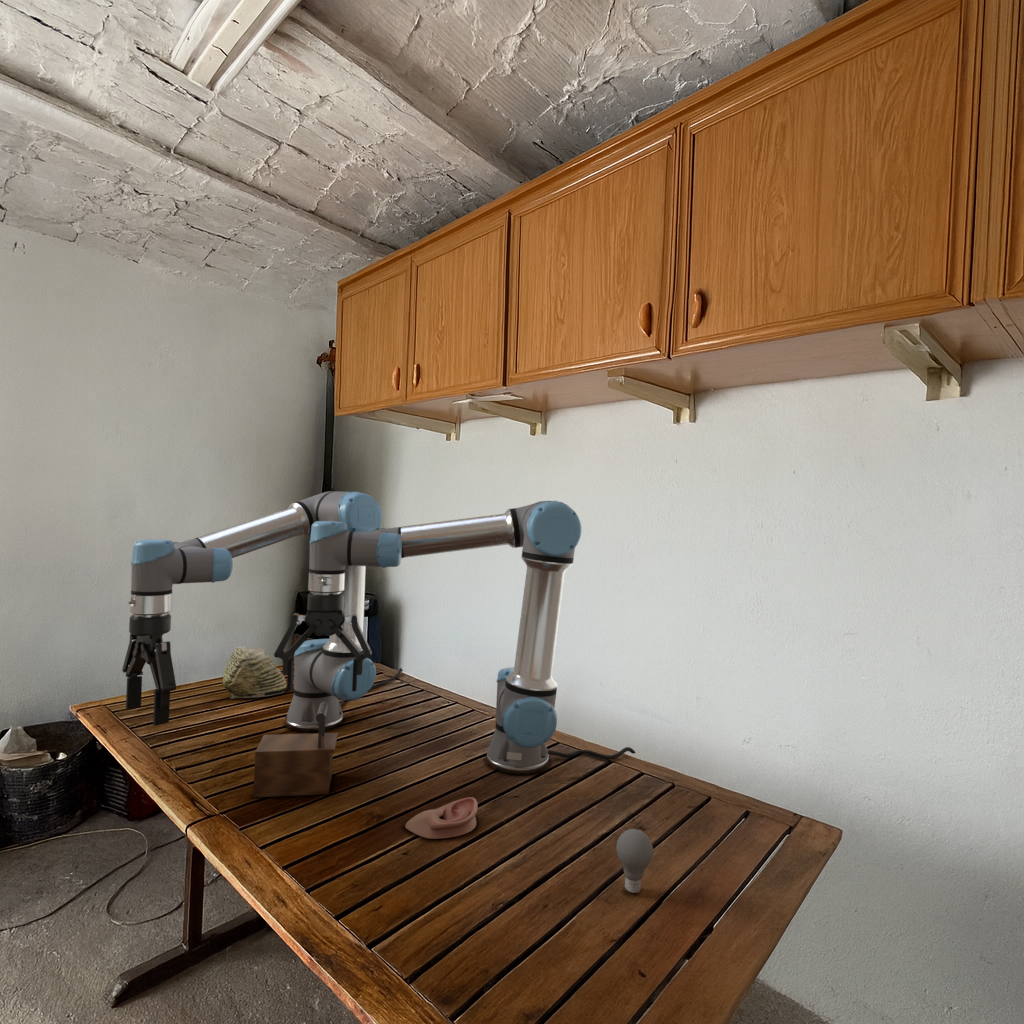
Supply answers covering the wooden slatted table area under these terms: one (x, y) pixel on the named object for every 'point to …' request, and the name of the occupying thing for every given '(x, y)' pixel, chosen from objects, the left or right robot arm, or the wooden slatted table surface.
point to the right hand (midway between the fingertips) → (322, 689)
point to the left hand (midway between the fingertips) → (146, 715)
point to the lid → (300, 740)
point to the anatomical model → (445, 820)
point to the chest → (292, 774)
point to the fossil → (252, 674)
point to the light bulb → (634, 857)
